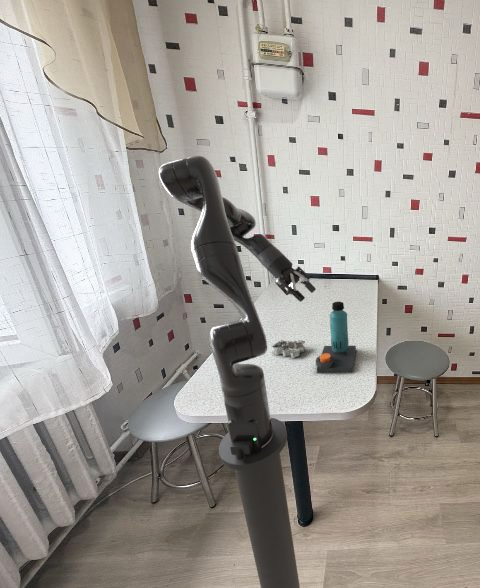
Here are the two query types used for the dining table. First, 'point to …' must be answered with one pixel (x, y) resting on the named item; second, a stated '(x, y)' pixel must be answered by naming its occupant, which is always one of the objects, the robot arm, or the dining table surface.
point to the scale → (337, 360)
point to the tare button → (325, 358)
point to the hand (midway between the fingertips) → (308, 295)
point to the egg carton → (289, 348)
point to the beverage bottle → (339, 328)
